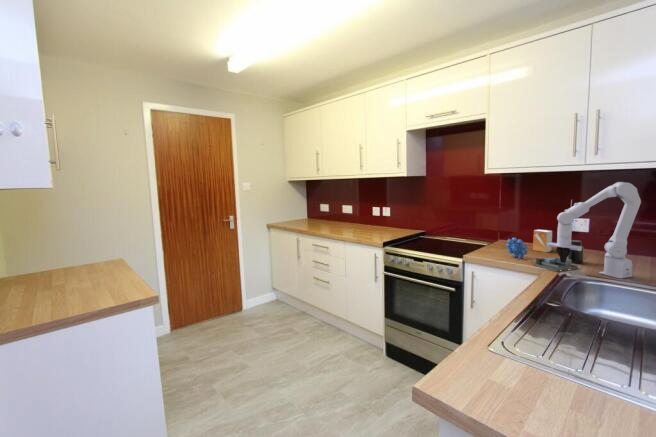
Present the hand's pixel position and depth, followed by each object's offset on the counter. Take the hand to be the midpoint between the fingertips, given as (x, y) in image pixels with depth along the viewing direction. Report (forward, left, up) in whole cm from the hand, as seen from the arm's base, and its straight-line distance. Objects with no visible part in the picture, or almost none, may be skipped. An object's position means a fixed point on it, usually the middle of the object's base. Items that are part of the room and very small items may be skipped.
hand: (563, 262), depth 161 cm
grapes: (+28, +1, -4) cm, 28 cm away
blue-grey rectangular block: (+9, 0, -3) cm, 10 cm away
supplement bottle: (+8, -19, -4) cm, 21 cm away
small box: (+35, -27, -4) cm, 44 cm away
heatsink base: (+6, -2, -4) cm, 8 cm away
